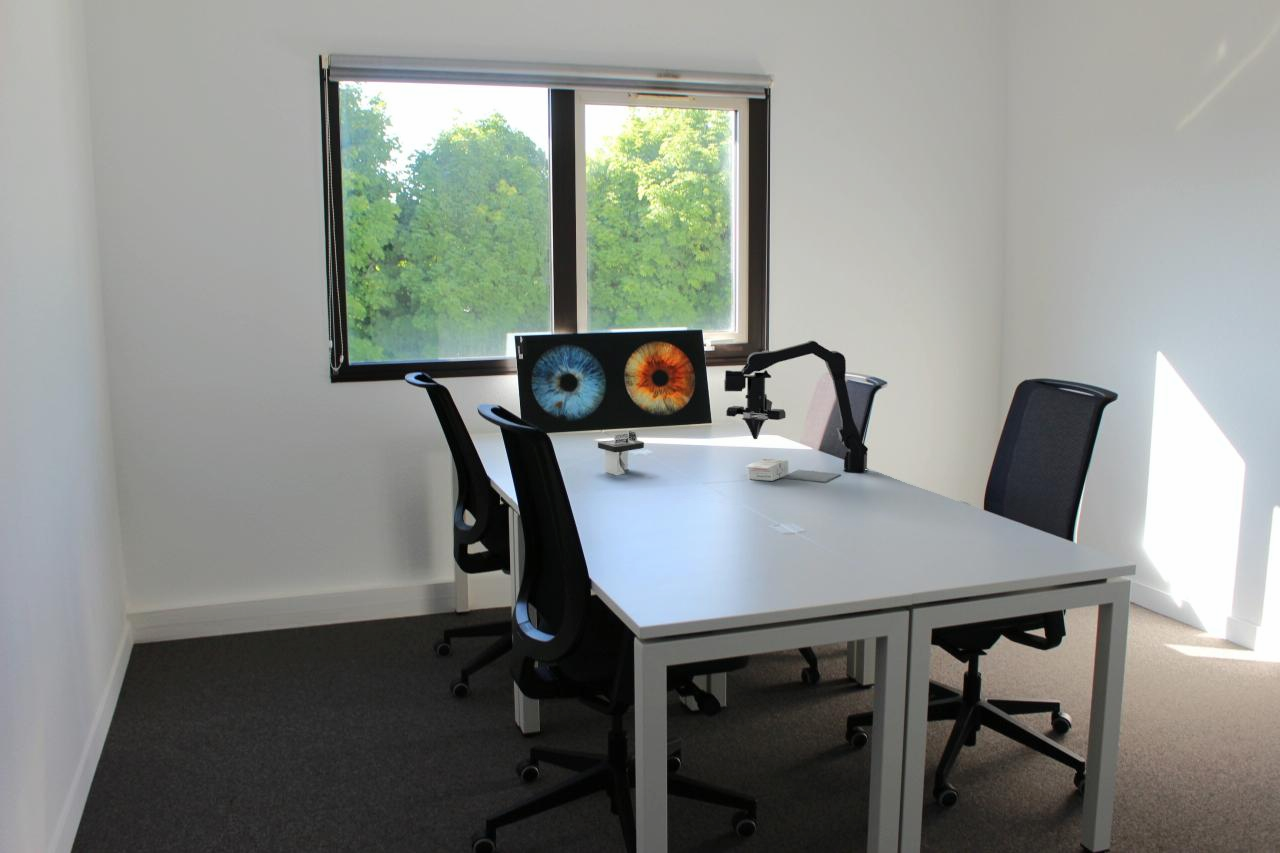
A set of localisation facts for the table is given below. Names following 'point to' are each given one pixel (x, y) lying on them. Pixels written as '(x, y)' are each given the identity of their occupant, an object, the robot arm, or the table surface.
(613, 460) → the black-topped pedestal
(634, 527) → the table surface
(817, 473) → the mat
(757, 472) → the ink cartridge box
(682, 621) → the table surface
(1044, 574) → the table surface
